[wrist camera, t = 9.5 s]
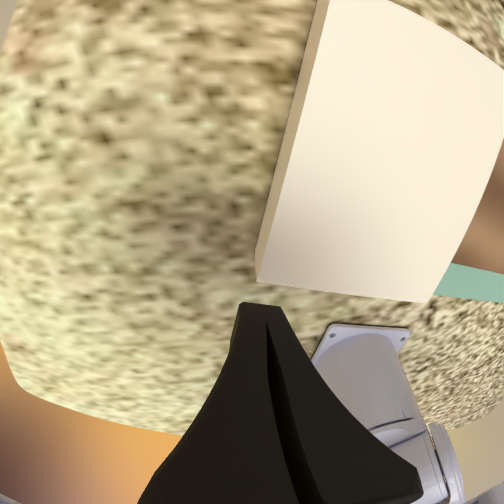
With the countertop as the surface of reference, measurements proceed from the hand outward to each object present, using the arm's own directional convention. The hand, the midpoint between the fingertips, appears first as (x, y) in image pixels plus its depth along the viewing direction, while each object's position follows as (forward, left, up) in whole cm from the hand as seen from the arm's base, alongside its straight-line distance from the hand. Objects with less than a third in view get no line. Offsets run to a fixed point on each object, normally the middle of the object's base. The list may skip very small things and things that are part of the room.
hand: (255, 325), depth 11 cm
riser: (+5, -7, -9) cm, 13 cm away
